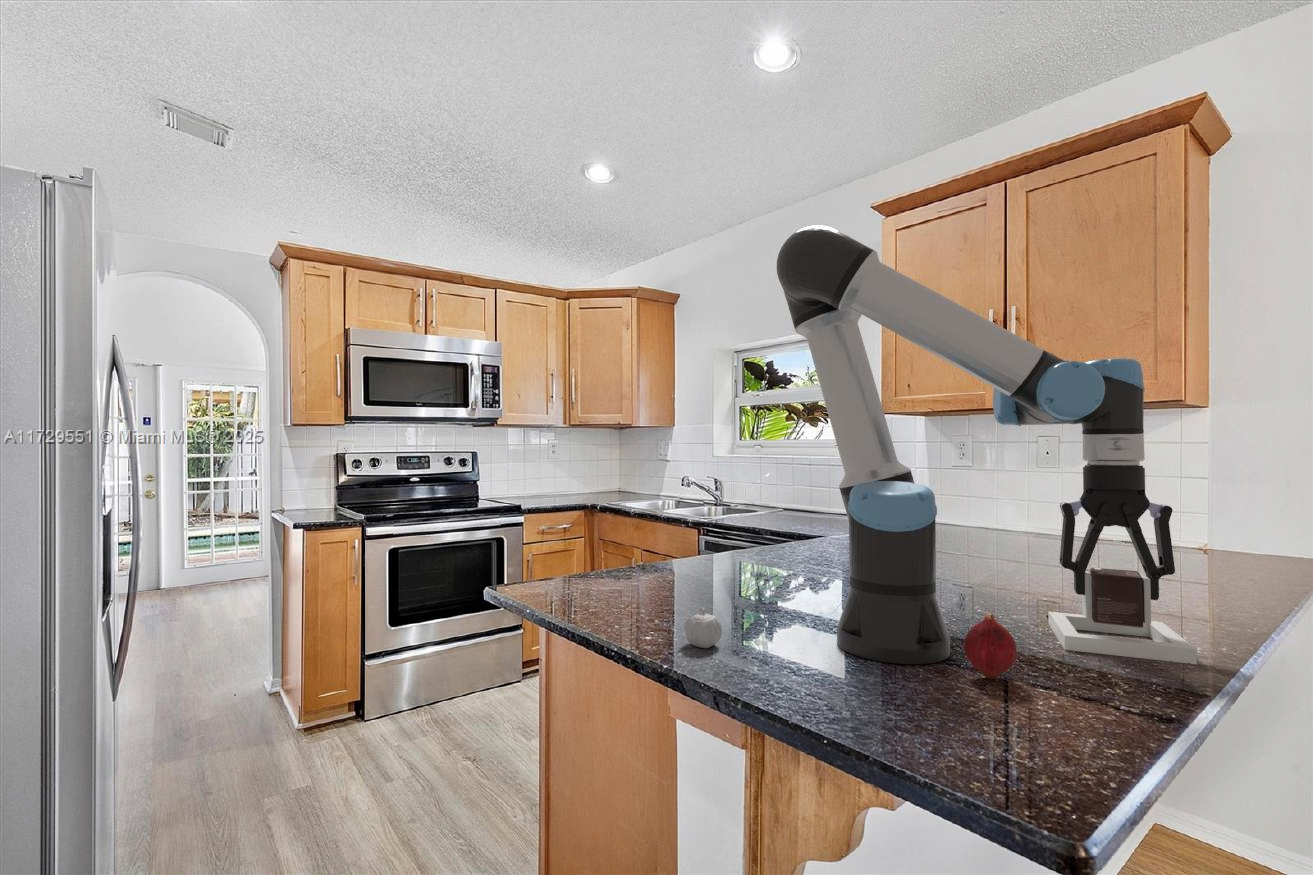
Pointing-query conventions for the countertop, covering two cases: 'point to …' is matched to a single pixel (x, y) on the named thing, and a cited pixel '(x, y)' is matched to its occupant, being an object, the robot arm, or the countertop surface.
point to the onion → (990, 647)
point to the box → (1117, 597)
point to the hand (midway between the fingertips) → (1115, 618)
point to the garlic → (703, 629)
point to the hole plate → (1121, 639)
